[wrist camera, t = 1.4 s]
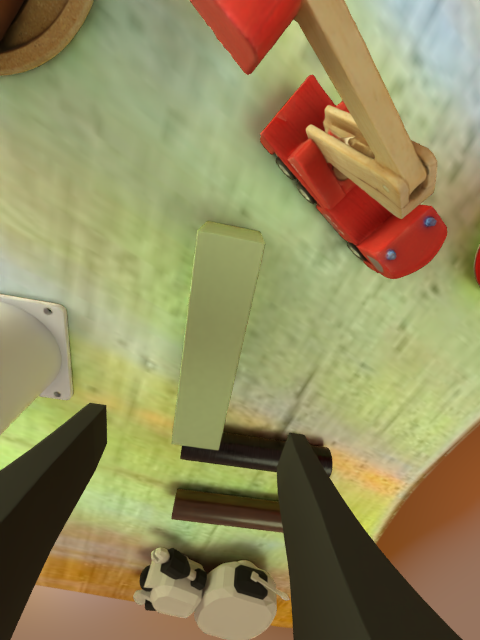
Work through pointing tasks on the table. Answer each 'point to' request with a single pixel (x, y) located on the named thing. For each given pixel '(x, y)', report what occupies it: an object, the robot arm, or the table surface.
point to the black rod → (250, 453)
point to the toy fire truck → (341, 133)
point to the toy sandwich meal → (37, 31)
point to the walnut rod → (227, 510)
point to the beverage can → (477, 266)
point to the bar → (215, 330)
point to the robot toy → (210, 594)
